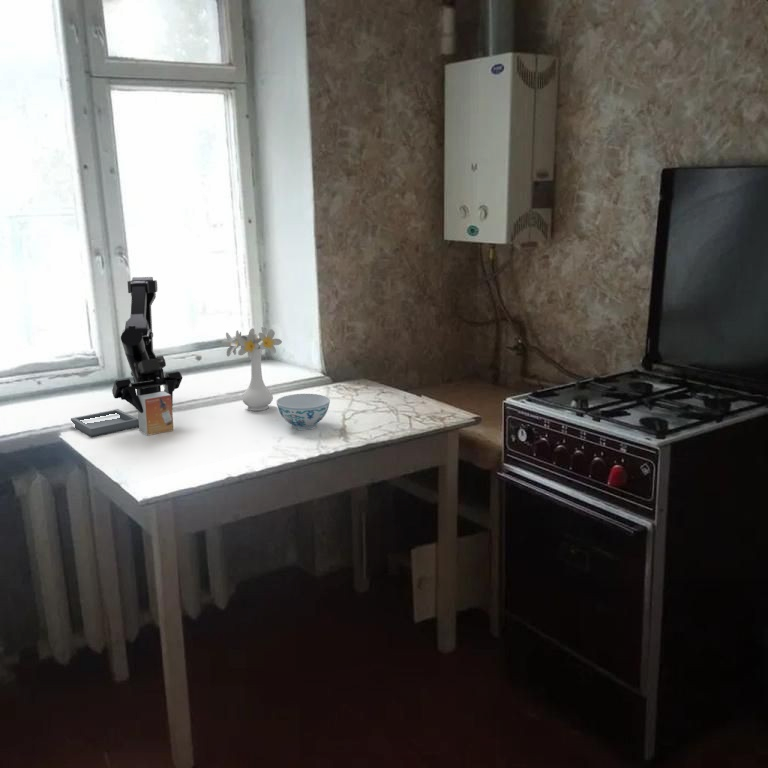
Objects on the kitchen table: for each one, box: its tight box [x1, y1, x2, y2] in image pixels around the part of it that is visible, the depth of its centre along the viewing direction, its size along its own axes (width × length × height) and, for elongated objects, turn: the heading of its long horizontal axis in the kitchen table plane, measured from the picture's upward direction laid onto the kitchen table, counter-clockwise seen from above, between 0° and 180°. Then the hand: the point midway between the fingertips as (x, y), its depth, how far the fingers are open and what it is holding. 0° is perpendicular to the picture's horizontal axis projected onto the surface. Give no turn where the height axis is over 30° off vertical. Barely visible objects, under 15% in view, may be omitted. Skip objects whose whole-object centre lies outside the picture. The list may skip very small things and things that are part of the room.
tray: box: [70, 408, 139, 439], centre depth 229 cm, size 14×14×2 cm
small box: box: [137, 390, 174, 436], centre depth 224 cm, size 8×6×10 cm
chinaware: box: [276, 393, 331, 431], centre depth 228 cm, size 15×15×8 cm
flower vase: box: [221, 326, 283, 412], centre depth 244 cm, size 13×18×25 cm
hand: (157, 409), depth 223 cm, fingers closed on small box, 8 cm apart
